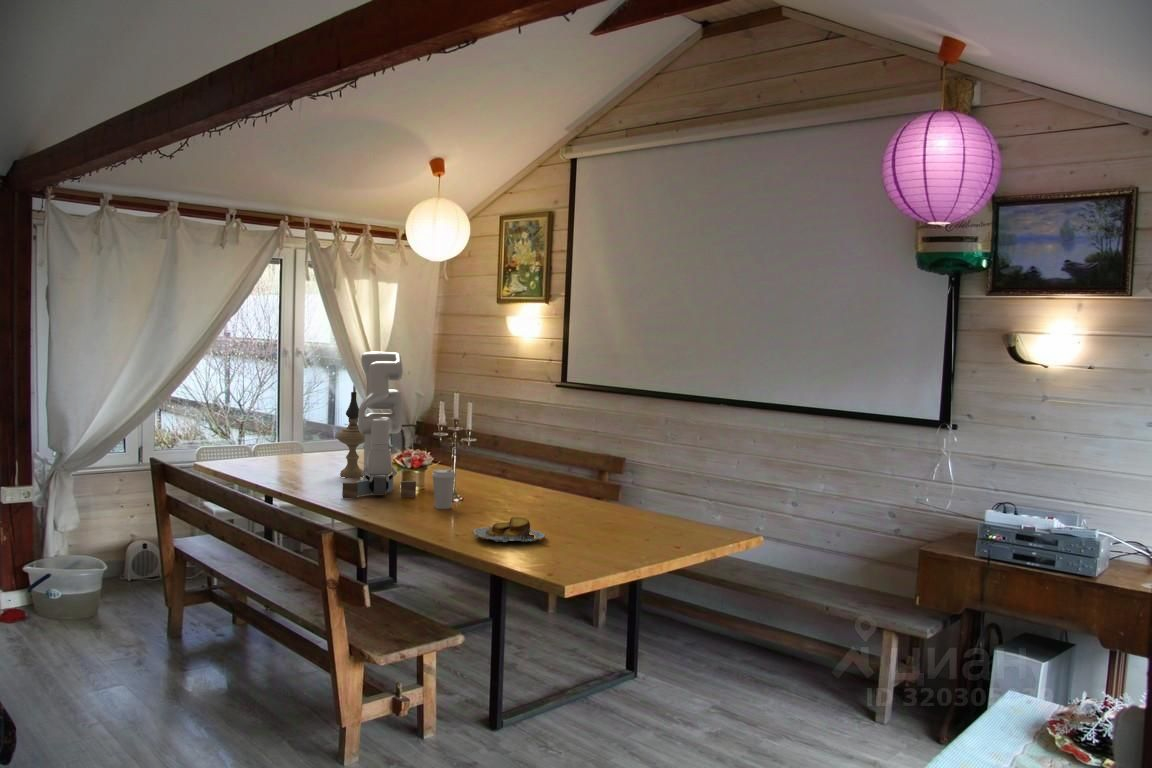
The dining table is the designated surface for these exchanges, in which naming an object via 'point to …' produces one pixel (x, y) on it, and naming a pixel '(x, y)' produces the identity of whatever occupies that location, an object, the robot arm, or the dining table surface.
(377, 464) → the robot arm
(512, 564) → the dining table surface
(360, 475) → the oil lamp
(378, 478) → the dark grey block
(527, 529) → the food on plate
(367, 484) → the grey curved plank
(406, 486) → the pair of brown blocks
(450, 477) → the coffee cup
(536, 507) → the dining table surface
